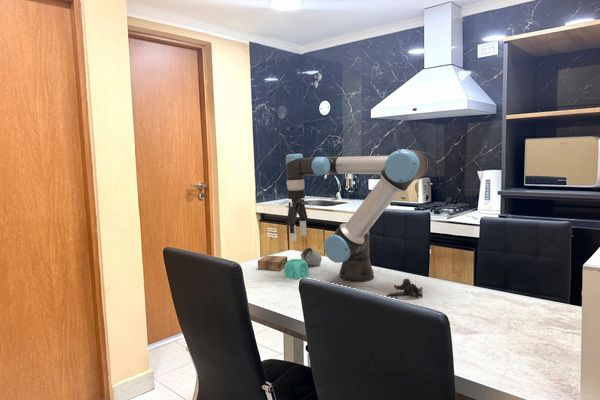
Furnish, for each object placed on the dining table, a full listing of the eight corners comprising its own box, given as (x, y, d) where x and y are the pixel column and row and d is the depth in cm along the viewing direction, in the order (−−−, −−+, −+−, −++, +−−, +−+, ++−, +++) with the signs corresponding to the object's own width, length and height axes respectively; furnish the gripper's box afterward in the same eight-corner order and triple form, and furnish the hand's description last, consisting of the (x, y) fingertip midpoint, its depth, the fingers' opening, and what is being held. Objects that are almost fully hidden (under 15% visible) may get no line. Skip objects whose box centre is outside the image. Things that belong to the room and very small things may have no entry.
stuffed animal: (430, 289, 164) (415, 278, 157) (422, 313, 162) (407, 303, 154) (405, 283, 173) (389, 272, 166) (397, 306, 170) (381, 295, 163)
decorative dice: (295, 275, 198) (295, 258, 197) (309, 277, 193) (308, 260, 192) (284, 279, 192) (283, 261, 191) (297, 282, 186) (297, 264, 186)
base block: (287, 268, 211) (287, 256, 211) (279, 274, 201) (279, 261, 200) (266, 267, 215) (266, 255, 214) (258, 272, 204) (257, 260, 204)
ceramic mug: (316, 270, 211) (325, 258, 210) (305, 264, 206) (314, 252, 205) (306, 259, 219) (315, 247, 219) (295, 253, 214) (305, 241, 214)
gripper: (297, 188, 199) (299, 233, 201) (277, 191, 176) (280, 243, 177) (312, 187, 197) (315, 233, 198) (294, 191, 173) (297, 243, 175)
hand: (298, 237), depth 188 cm, fingers open, 13 cm apart
